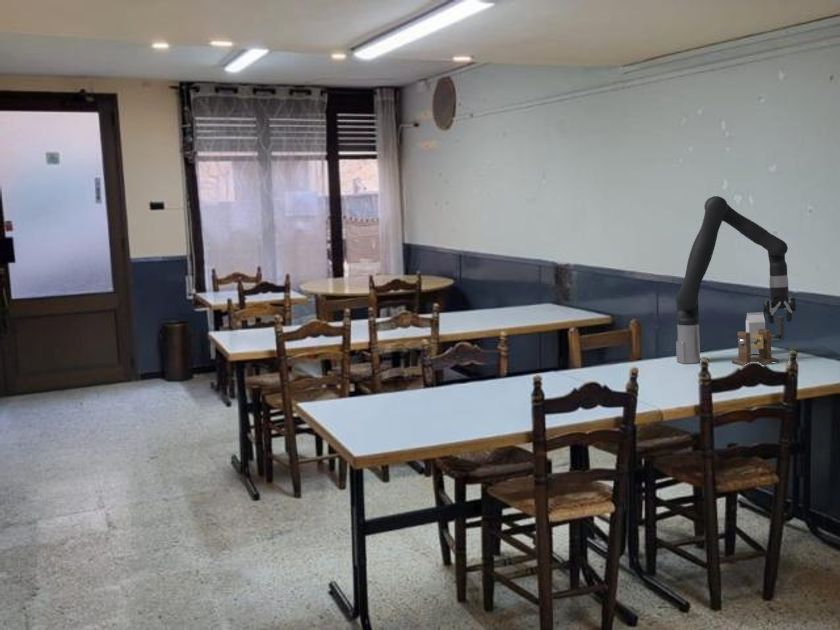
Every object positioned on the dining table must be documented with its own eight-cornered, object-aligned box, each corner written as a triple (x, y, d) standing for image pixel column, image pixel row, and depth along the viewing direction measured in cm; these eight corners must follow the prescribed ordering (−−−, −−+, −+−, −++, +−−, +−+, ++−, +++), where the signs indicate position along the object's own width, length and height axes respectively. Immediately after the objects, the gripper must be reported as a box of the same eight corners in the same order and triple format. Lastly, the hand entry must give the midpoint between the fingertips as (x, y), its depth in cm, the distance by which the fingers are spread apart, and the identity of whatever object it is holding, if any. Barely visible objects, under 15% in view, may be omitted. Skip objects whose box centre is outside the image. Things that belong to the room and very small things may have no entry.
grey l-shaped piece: (742, 344, 361) (741, 321, 360) (738, 343, 364) (737, 320, 363) (784, 339, 366) (783, 316, 365) (779, 338, 369) (779, 316, 368)
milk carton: (766, 354, 382) (765, 313, 379) (749, 355, 383) (748, 314, 381) (762, 351, 389) (761, 311, 386) (746, 352, 390) (745, 312, 388)
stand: (745, 366, 359) (744, 334, 357) (732, 363, 369) (730, 331, 367) (778, 362, 362) (777, 330, 361) (764, 359, 372) (763, 327, 370)
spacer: (760, 348, 362) (760, 335, 361) (752, 347, 368) (751, 333, 367) (763, 348, 362) (763, 334, 362) (755, 346, 368) (754, 333, 367)
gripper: (769, 287, 359) (771, 325, 361) (798, 284, 362) (800, 321, 364) (759, 286, 366) (760, 323, 368) (787, 283, 369) (788, 319, 371)
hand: (780, 322), depth 366 cm, fingers open, 8 cm apart
